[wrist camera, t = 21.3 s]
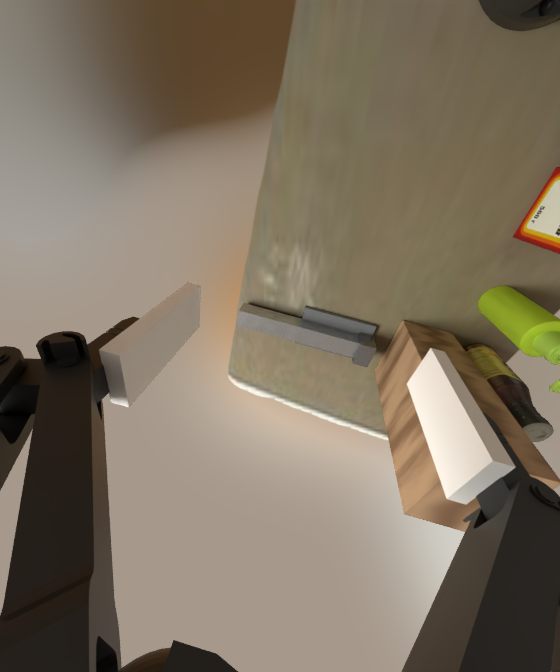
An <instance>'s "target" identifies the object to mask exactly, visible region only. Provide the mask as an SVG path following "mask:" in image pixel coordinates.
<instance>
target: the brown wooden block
mask: <svg viewBox="0 0 560 672" xmlns="http://www.w3.org/2000/svg"><path fill="white" fill-rule="evenodd" d="M430 348H433V349H437V350H441V351H445V353H446V355H447V356H448V358H449V359H450V361H451V363H452V364H453V366H454V368H455V369H456V371H457V372H458V374H459V376H460V377H461V379H462V381H463V382H464V384H465V385H466V387H467V389H468V390H469V392H470V394H471V395H472V397H473V398H474V400H475V402H476V403H477V405H478V407H479V408H480V410H481V411H482V412H484V413H486V414H487V415H488V416H489V417H490V418H491V419H492V420H493V421H494V422H495V423H496V424H497V426H498V427H499V429H500V430H501V432H502V433H503V436H505V438H506V440H507V441H508V445H510V446H511V447H512V449H513V450H514V452H515V453H516V455H517V457H518V458H519V460H520V461H521V463H522V464H523V466H524V467H525V469H526V470H527V472H528V474H529V475H530V476H531V477H533V478H536V479H538V480H540V481H542V482H543V483H545V484H546V485H548V486H549V487H550V488H551V489H552V490H553V489H554V488H556V487H557V486H559V485H560V479H559V478H558V477H557V475H556V474H555V473H554V471H553V470H552V468H551V467H550V466H549V464H548V463H547V462H546V460H545V459H544V458H543V456H542V455H541V453H540V452H539V451H538V449H536V447H535V445H534V444H533V443H532V441H531V440H530V439H529V437H528V436H527V434H526V433H525V432H524V430H523V429H522V428H521V426H520V425H519V424H518V422H517V421H516V419H515V418H514V417H513V415H512V414H511V413H510V411H509V410H508V409H507V407H506V406H505V405H504V403H503V402H502V400H501V399H500V398H499V396H498V395H497V394H496V392H495V391H494V390H493V388H492V387H491V386H490V384H489V383H488V381H487V380H486V379H485V377H484V376H483V375H482V373H481V372H480V371H479V369H478V368H477V366H476V365H475V364H474V362H473V361H472V360H471V358H470V357H469V356H468V354H467V353H466V352H465V350H464V349H463V347H462V346H461V345H460V343H459V342H458V341H457V339H456V338H455V337H454V335H453V334H452V333H450V332H446V331H442V330H438V329H435V328H431V327H427V326H423V325H420V324H416V323H412V322H408V321H405V320H403V321H402V322H401V324H400V326H399V328H398V330H397V331H396V333H395V335H394V337H393V339H392V341H391V342H390V344H389V346H388V348H387V350H386V351H385V353H384V355H383V357H382V359H381V361H380V362H379V364H378V366H377V368H376V370H375V375H376V380H377V385H378V390H379V395H380V400H381V404H382V409H383V414H384V419H385V424H386V429H387V433H388V438H389V443H390V448H391V453H392V458H393V462H394V467H395V472H396V476H397V482H398V487H399V491H400V496H401V501H402V506H403V511H404V514H406V515H409V516H412V517H416V518H419V519H423V520H426V521H430V522H433V523H436V524H440V525H443V526H447V527H451V528H454V529H457V530H460V531H464V532H466V529H467V527H468V525H469V523H470V521H468V522H466V523H465V522H464V521H463V519H464V518H466V517H467V516H468V515H470V514H471V513H473V512H474V511H475V510H477V509H478V508H480V505H479V502H478V500H477V498H474V499H473V500H472V501H470V502H469V503H468V504H462V503H459V502H455V501H452V500H448V499H446V496H445V493H444V490H443V487H442V484H441V481H440V478H439V475H438V472H437V470H436V467H435V464H434V461H433V458H432V455H431V452H430V449H429V446H428V444H427V441H426V438H425V435H424V432H423V429H422V426H421V423H420V420H419V417H418V415H417V412H416V409H415V406H414V403H413V400H412V397H411V394H410V391H409V388H408V386H407V383H408V381H409V380H410V378H411V377H412V375H413V374H414V372H415V371H416V369H417V368H418V366H419V365H420V363H421V362H422V360H423V359H424V357H425V356H426V354H427V353H428V351H429V350H430Z"/></svg>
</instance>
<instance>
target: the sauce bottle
mask: <svg viewBox="0 0 560 672" xmlns="http://www.w3.org/2000/svg"><path fill="white" fill-rule="evenodd" d="M464 350H465V352H466V353H467V354H468V356H469V357H470V358H471V360H472V361H473V362H474V364H475V365H476V366H477V368H478V369H479V371H480V372H481V373H482V375H483V376H484V377H485V379H486V380H487V381H488V383H489V384H490V386H491V387H492V388H493V390H494V391H495V392H496V394H497V395H498V396H499V398H500V399H501V400H502V402H503V403H504V405H505V406H506V407H507V409H508V410H509V411H510V413H511V414H512V415H513V417H514V418H515V419H516V421H517V422H518V424H519V425H520V426H521V428H522V429H523V430H524V432H525V433H526V434H527V436H528V437H529V439H530V440H531V441H532V442H539V441H543V440H545V439H547V438H549V437H550V436H551V435H552V433H553V431H554V430H553V427H552V426H551V425H550V423H549V422H548V421H547V420H546V419H545V418H543V417H541V415H540V414H539V413H538V412H537V411H536V409H535V407H534V406H533V404H532V401H531V397H530V392H529V389H528V387H527V386H526V385H525V384H524V382H523V381H522V380H521V379H520V378H519V377H518V376H517V375H516V374H515V373H514V372H513V371H512V370H511V369H510V368H509V367H508V365H507V364H506V363H505V362H504V361H503V360H502V359H501V358H500V357H499V356H498V355H497V354H496V353H495V351H493V350H492V349H490V348H489V347H488V346H485V345H480V344H475V345H471V346H468V347H466V348H465V349H464Z"/></svg>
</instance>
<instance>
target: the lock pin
mask: <svg viewBox="0 0 560 672" xmlns="http://www.w3.org/2000/svg"><path fill="white" fill-rule="evenodd" d="M237 326H241V327H244V328H248V329H252V330H255V331H259V332H263V333H266V334H270V335H273V336H277V337H281V338H284V339H288V340H292V341H295V342H299V343H302V344H306V345H310V346H313V347H317V348H320V349H324V350H328V351H331V352H335V353H339V354H342V355H346V356H349V357H352V361H353V364H357V365H360V366H364V367H368V365H369V363H370V361H371V359H372V357H373V355H374V353H375V352H376V350H377V347H376V343H375V339H374V336H373V335H369V334H365V333H362V332H359V334H356V333H352V332H348V331H345V330H341V329H337V328H334V327H330V326H326V325H323V324H319V323H315V322H312V321H308V320H304V319H301V318H297V317H293V316H290V315H286V314H282V313H279V312H275V311H272V310H268V309H264V308H261V307H257V306H253V305H250V304H246V303H244V304H243V305H242V307H241V308H240V310H239V314H238V321H237Z"/></svg>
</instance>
